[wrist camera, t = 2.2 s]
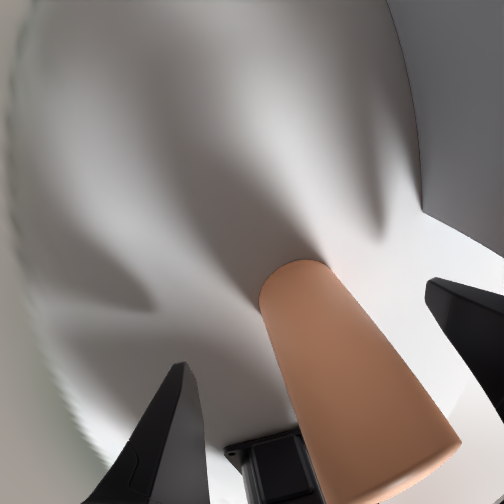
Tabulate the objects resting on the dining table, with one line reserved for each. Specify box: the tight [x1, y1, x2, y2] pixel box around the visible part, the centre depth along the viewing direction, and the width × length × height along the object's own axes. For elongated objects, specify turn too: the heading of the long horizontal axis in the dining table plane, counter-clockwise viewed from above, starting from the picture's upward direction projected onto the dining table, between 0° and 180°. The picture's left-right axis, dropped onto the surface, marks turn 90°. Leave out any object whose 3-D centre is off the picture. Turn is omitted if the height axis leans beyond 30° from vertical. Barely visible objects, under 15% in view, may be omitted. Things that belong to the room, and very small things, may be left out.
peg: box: [259, 260, 462, 504], centre depth 8 cm, size 3×3×8 cm
